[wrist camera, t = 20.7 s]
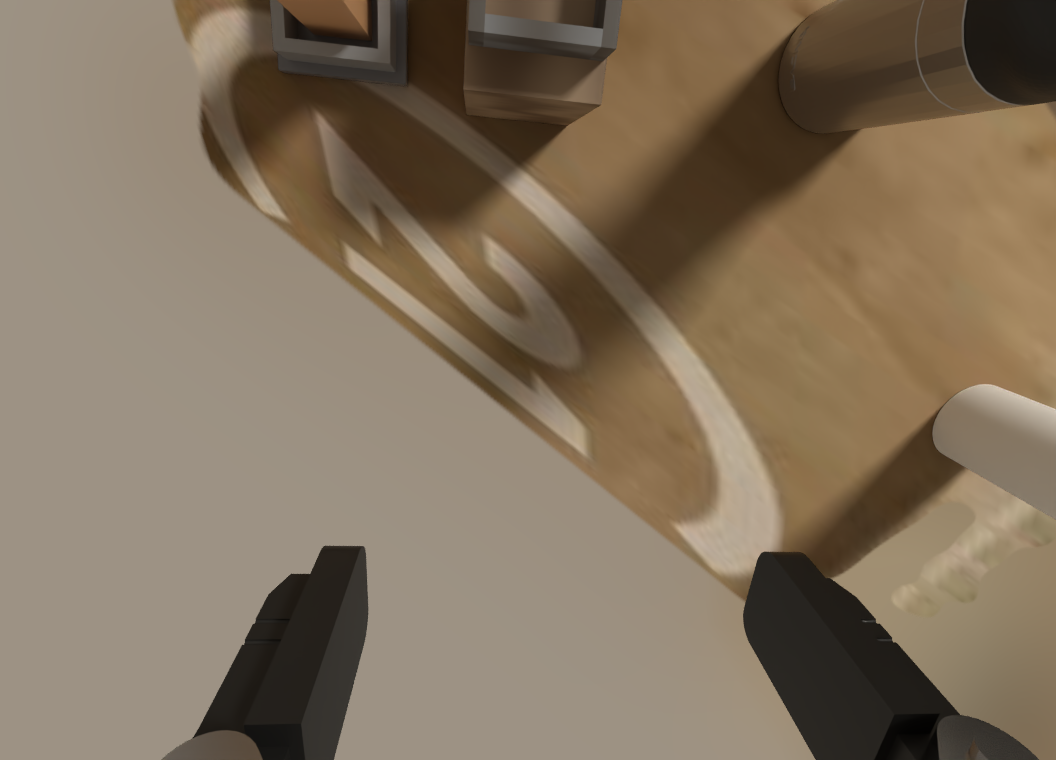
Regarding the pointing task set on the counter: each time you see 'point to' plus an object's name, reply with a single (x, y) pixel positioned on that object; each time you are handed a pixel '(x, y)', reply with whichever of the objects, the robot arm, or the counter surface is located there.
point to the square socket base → (537, 57)
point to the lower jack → (345, 47)
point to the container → (1002, 441)
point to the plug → (334, 17)
